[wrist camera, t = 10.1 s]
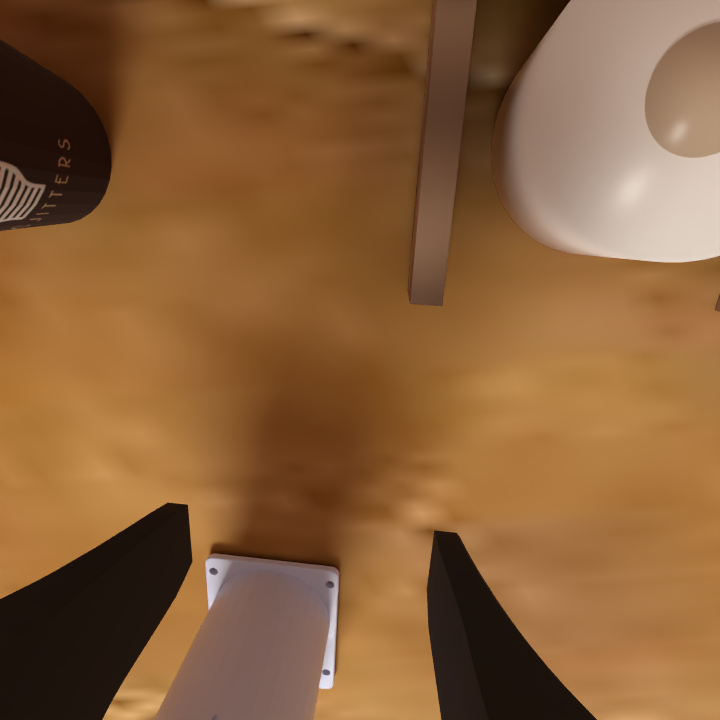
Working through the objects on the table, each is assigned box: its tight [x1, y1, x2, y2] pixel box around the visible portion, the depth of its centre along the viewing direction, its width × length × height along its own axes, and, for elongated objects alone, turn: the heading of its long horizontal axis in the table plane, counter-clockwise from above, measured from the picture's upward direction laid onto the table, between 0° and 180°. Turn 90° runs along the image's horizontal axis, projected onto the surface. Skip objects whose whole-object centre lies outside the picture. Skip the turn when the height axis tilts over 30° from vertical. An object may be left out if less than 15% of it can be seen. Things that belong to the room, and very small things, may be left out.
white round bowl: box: [491, 0, 720, 262], centre depth 14 cm, size 9×9×6 cm
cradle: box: [408, 0, 720, 311], centre depth 14 cm, size 13×15×5 cm
